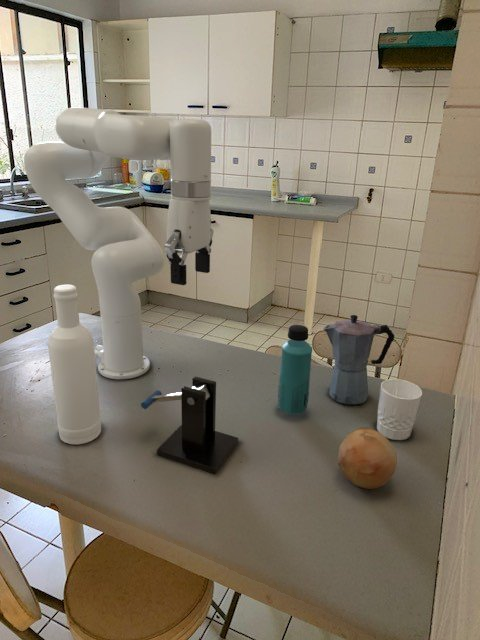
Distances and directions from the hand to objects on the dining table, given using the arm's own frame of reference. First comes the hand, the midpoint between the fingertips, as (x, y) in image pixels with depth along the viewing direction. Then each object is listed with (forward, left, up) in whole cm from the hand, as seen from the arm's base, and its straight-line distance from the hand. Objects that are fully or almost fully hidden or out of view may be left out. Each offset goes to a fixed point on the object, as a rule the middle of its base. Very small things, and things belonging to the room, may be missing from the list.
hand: (191, 277), depth 94 cm
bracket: (+10, -15, -28) cm, 34 cm away
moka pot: (+32, +18, -28) cm, 46 cm away
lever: (+6, -15, -19) cm, 25 cm away
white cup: (+43, +8, -28) cm, 52 cm away
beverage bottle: (+22, +5, -28) cm, 36 cm away
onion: (+40, -10, -28) cm, 50 cm away
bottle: (-13, -21, -28) cm, 38 cm away
